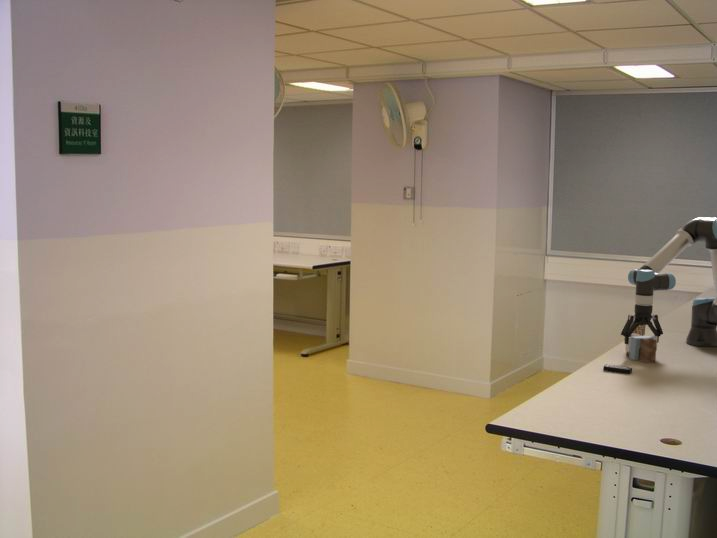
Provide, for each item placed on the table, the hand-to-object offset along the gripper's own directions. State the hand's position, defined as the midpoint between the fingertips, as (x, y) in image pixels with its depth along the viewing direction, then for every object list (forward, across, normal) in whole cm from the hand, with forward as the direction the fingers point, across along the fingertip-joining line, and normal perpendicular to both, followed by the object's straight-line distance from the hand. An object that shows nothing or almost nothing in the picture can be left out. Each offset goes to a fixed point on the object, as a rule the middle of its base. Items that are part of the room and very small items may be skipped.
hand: (641, 350), depth 358 cm
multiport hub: (+4, +24, +18) cm, 30 cm away
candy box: (+4, -8, -16) cm, 18 cm away
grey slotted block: (+4, 0, 0) cm, 4 cm away
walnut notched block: (+4, 0, 0) cm, 4 cm away
